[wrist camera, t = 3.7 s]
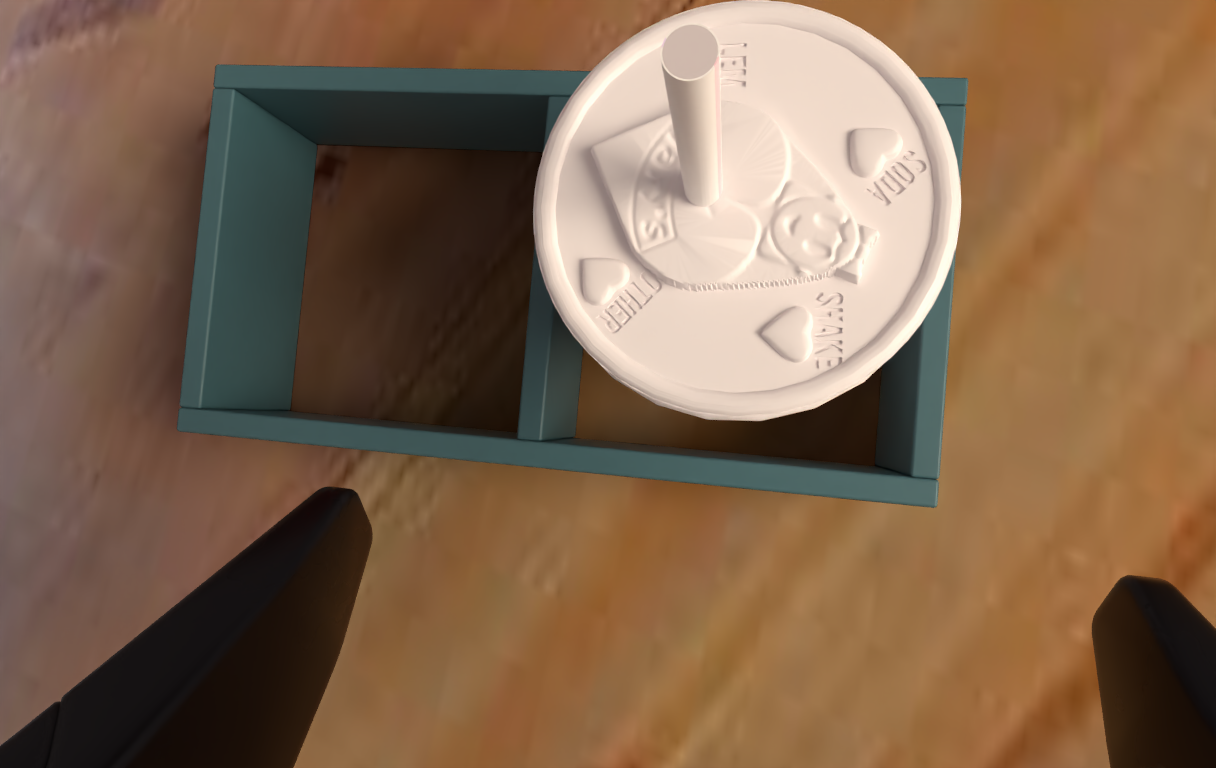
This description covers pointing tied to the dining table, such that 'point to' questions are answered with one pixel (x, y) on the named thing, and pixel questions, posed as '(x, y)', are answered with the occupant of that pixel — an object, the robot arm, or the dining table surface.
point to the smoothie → (747, 209)
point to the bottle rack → (522, 121)
